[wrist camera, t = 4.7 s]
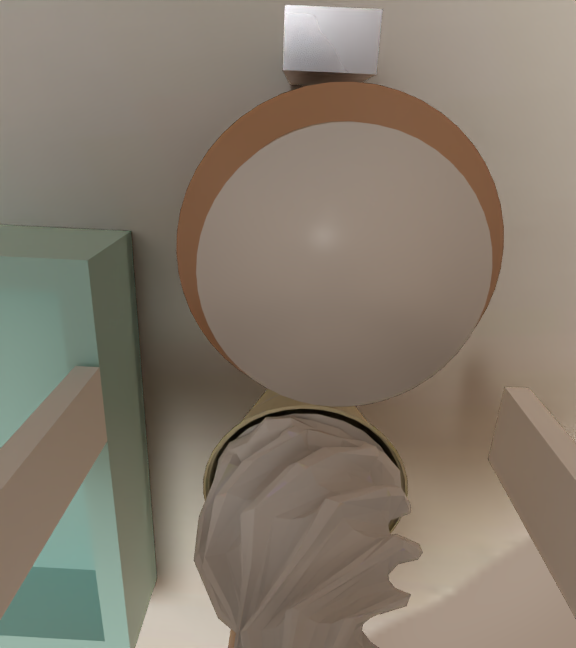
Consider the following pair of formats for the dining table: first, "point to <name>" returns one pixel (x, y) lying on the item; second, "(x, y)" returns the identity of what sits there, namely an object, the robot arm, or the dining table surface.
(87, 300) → the tray
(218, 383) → the dining table surface
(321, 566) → the ice cream cone
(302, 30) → the clip row
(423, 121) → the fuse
